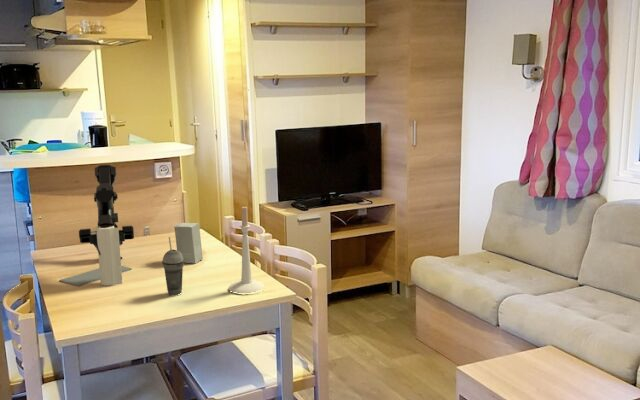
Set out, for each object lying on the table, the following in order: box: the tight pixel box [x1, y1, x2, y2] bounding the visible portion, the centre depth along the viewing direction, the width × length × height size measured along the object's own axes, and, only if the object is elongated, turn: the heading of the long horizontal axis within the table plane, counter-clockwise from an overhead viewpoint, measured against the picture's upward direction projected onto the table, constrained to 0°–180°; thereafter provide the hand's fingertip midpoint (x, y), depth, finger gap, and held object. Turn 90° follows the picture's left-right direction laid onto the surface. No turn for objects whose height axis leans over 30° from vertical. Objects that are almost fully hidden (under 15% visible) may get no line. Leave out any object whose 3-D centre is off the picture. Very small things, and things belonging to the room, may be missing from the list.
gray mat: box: [59, 265, 133, 287], centre depth 227 cm, size 24×11×1 cm, turn 147°
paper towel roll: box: [95, 225, 123, 287], centre depth 215 cm, size 7×6×21 cm
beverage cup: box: [162, 236, 185, 296], centre depth 204 cm, size 7×7×20 cm
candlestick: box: [228, 205, 265, 293], centre depth 207 cm, size 13×13×30 cm
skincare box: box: [173, 222, 204, 264], centre depth 243 cm, size 8×7×16 cm
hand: (107, 254), depth 213 cm, fingers open, 5 cm apart
